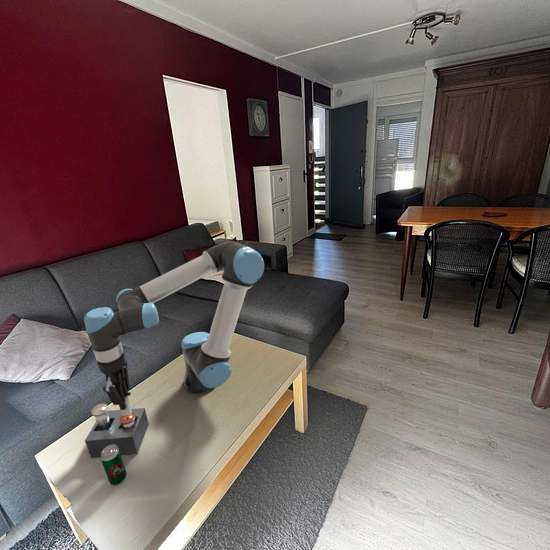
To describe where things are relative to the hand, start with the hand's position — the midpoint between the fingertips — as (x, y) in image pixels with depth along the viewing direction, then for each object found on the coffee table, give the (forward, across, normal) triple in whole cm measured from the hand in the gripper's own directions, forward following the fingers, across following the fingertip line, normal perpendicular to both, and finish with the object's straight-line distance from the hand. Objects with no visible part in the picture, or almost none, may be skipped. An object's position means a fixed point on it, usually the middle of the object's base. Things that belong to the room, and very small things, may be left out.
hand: (127, 413), depth 102 cm
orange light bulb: (+9, 0, 0) cm, 9 cm away
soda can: (+12, +14, 0) cm, 18 cm away
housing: (+12, 0, -4) cm, 13 cm away
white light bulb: (+5, 0, -8) cm, 10 cm away
